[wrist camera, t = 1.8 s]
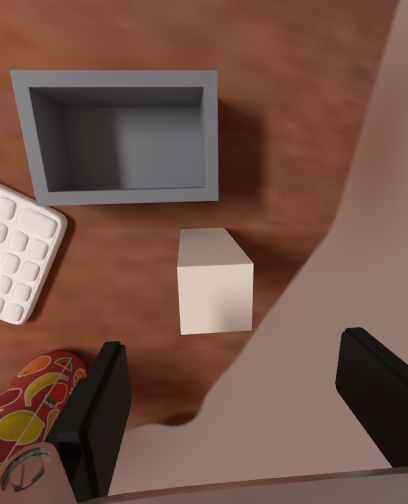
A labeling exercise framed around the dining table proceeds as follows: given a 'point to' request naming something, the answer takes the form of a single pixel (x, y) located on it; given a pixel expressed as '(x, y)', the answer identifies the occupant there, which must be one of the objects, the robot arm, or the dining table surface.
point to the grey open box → (119, 135)
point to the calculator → (25, 252)
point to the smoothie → (36, 400)
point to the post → (213, 282)
